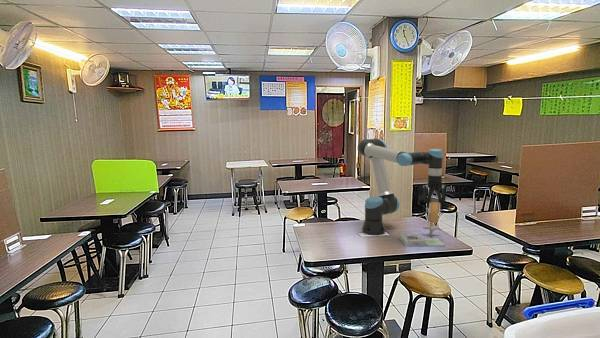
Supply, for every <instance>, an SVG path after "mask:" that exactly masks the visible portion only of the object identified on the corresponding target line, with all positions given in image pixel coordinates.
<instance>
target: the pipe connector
mask: <svg viewBox="0 0 600 338" xmlns="http://www.w3.org/2000/svg"><path fill="white" fill-rule="evenodd" d="M422 228H423V229H424V230H429V236H431V237H432V236H434V235H433V234H434V232H435V230H441V227H440V226H434V223H431V222H429V224H428V225H423V226H422Z"/></svg>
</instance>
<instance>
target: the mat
mask: <svg viewBox="0 0 600 338" xmlns="http://www.w3.org/2000/svg"><path fill="white" fill-rule="evenodd" d="M423 239H424V240H425V241H426V247H445V246H446V245H445V243H443V242H442V241H441V240H440V239H439V238H423Z"/></svg>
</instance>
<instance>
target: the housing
mask: <svg viewBox="0 0 600 338" xmlns="http://www.w3.org/2000/svg"><path fill="white" fill-rule="evenodd" d="M424 239H425V238H423V237H422V236H421V235H420V234H418V233H417V234H416V233H415V234H411V233H410V234H399V240H400V242H401V243H402V244H403V245H404V247H427V245H426V241H425V240H424Z"/></svg>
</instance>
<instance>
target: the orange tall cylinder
mask: <svg viewBox="0 0 600 338" xmlns="http://www.w3.org/2000/svg"><path fill="white" fill-rule="evenodd" d="M430 203H431V213H430V214H429V213H428V221H429V223H430V222H431V223H433V224H438V223H439V214H438V207H439V199H438V198H435V197H431V199H430Z"/></svg>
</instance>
